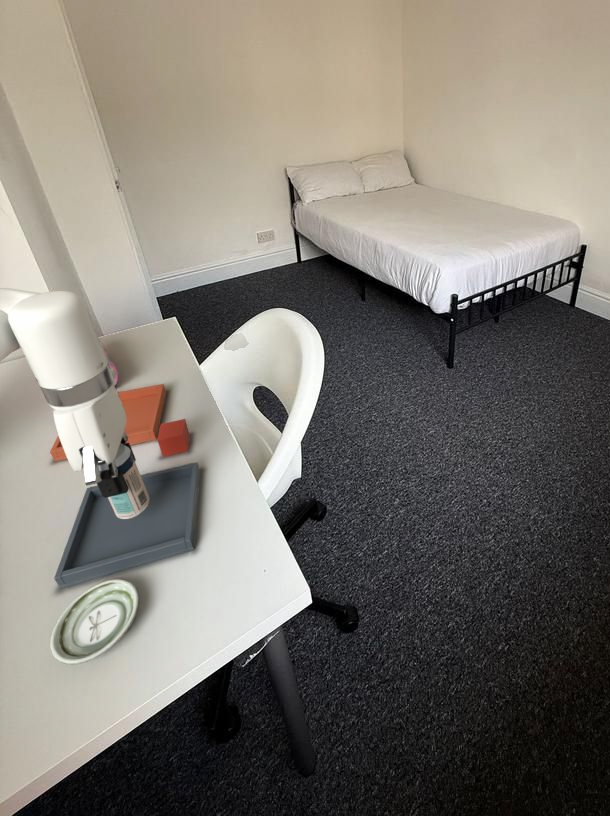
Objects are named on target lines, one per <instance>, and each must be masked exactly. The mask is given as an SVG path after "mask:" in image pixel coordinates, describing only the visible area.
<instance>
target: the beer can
mask: <svg viewBox="0 0 610 816" xmlns="http://www.w3.org/2000/svg"><path fill="white" fill-rule="evenodd" d="M115 463H116V466H117V470H118V471H121V472H122V474H123V476H124V479H125V481H126V483H127V486H128V492H127V493H124V494H120V495H115V496H111V497H108V499H109V501H110V504H111V506H112V508H113V510H114V512H115V514H116V516H117V517H118V518H120V519H129V518H132V517H135V516H137V515H138V514H140V513H141V512H142V511H143V510H144V509H145V508H146V507H147V505H148V503H149V495H148V493H147V490H146V488H145V485H144V483H143V480H142V478H141V475H142V474H141V472H140V470H139V468H138V466H137V463H136V461H135V460H134V458H133V455H132V453H131V450H130V449H129V447H127V446H125V445H123V444H121V443H120V445H119V448H118V451H117V454H116V457H115ZM98 467H99V471H104V470H109V467H108V464H107V463H106V464H102V465H98Z"/></svg>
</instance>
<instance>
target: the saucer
mask: <svg viewBox="0 0 610 816" xmlns="http://www.w3.org/2000/svg"><path fill="white" fill-rule="evenodd" d="M139 597H140V596H139V592H138V590H137V588H136V586H135V585H134V584H133V583H132V582H130V581H128V580H125V579H121V578H120V579H119V578H117V579H116V578H115V579H108V580H105V581H102V582H99V583H97V584H95V585H93V586H91V587H89V588H87V589H86V590H85V591H83V592H82V593H81V594H79V595H78V596H76V597H75V598H74V599H73V600H72V601H71V603H69V604H68V605H67V606H66V608H65V609H64V610H63V611H62V613H61V614H60V616H59V617H58V619H57V621H56V623H55V624H54V627H53V629H52V632H51V635H50V641H49V645H50V646H49V647H50V652H51V654H52V656H53V657H54V659H55V660H56V661H58V662H59V663H61V664H64V665H71V666H72V665H73V666H74V665H82V664H84V663H88V662H91V661H93V660H95V659H97V658H99V657H100V656H102V655H104V654H105V653H106V652H108V651H110V649H112V647H114V646H115V645H116V644H117V643H118V642H119V641H120V640H121V639H122V637H124V636H125V635H126V633H127V631H128V630H129V628H130V627H131V625H132V623H133V622H134V620H135V617H136V615H137V612H138V609H139V602H140V598H139Z"/></svg>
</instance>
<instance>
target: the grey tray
mask: <svg viewBox="0 0 610 816" xmlns="http://www.w3.org/2000/svg"><path fill="white" fill-rule="evenodd" d="M140 475H141V478H142V480H143V483H144V485H145V488H146V490H147V493H148V495H149V503H148V505H147V507H146V508H145V509H144V510H143V511H142V512H141V513H140V514H138V515H137V516H135V517H132V518H129V519H120V518H118V517H117V516H116V514H115V512H114V510H113V508H112V506H111V504H110V501H109V499H108V497H107V498H104V497H103V496H102V494H101V492H100V489H99V487H98V485H97V484H96V485H94V486H89V487H87V488H86V489H85V493H84V495H83V497H82V501H81V503H80V506H79V509H78V511H77V513H76V517H75V520H74V523H73V525H72V528H71V531H70V534H69V537H68V539H67V543H66V545H65V547H64V550H63V553H62V556H61V558H60V561H59V564H58V567H57V569H56V571H55V575H54V577H53V579H54V581H55V582H56V584H57V586H58V587H59V589H60V590H62V589H65V588H71V587H73V586H76V585H80V584H82V583H86V582H90V581H94V580H97V579H100V578H104V577H106V576H110V575H114V574H118V573H121V572H125V571H128V570H131V569H135V568H138V567H141V566H145V565H148V564H152V563H155V562H159V561H162V560H165V559H169V558H173V557H177V556H180V555H183V554H186V553H189V552H193V551H195V544H196V543H195V541H196V531H197V517H198V506H199V494H200V493H199V492H200V480H201V469H200V466H199V463H198V461H195V462H190V463H187V464H182V465H178V466H174V467H170V468H165V469H161V470H157V471H153V472H149V473H143V474H140Z"/></svg>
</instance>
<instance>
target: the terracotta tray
mask: <svg viewBox="0 0 610 816" xmlns="http://www.w3.org/2000/svg"><path fill="white" fill-rule="evenodd" d="M117 393H118V395H119V397H120V400H121V402H122V404H123V407H124V410H125V413H126V426H125V429H124V431H125V432H126V434H127V436H128V442H126V443H129V444H130V446H133V445H137V444H142V443H146V442H147V443H148V442H151V441H156V440H157V439H158V434H159V430H160V425H161V419H162V415H163V410H164V405H165V401H166V396H167V390H166V387H165V383H160V384H154V385H150V386H149V385H148V386H143V387H139V388H134V389H127V390H123V391H117ZM49 453H50V455H51V457H52V458H53V461H54V462H59V461H64V460H68V459H67V457H66V454H65V452H64V449H63V447H62V444H61V441H60V439H59V436H58V435H57V437H56V438H55V441H54V443H53V445H52V447H51V448H50V451H49Z"/></svg>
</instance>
